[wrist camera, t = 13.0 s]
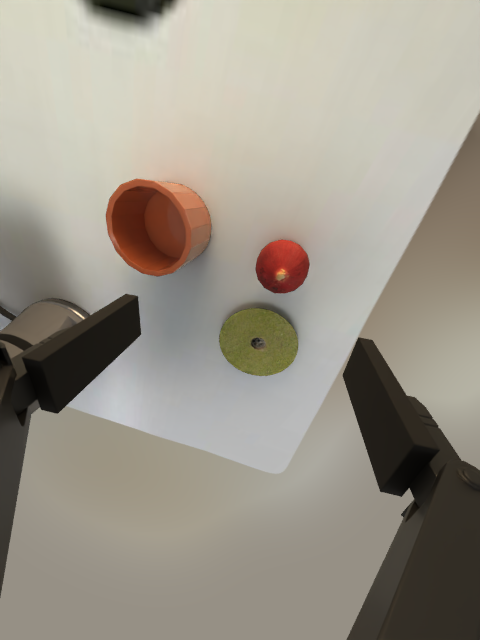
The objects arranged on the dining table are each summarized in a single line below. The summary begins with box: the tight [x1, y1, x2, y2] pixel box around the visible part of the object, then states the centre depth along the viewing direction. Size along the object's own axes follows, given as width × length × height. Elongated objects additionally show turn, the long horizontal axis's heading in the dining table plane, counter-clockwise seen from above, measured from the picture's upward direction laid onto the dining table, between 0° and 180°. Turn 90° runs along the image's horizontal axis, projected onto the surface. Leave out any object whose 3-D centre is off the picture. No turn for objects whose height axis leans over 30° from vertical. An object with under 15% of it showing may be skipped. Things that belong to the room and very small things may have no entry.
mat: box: [219, 308, 298, 376], centre depth 35 cm, size 11×11×2 cm
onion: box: [256, 240, 309, 293], centre depth 27 cm, size 6×6×8 cm
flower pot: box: [106, 179, 211, 276], centre depth 28 cm, size 9×9×7 cm
